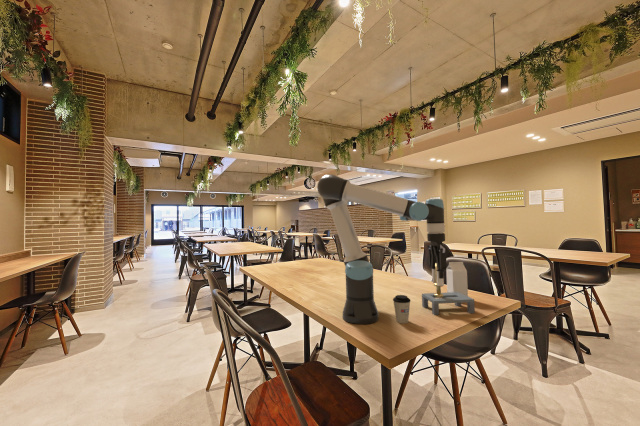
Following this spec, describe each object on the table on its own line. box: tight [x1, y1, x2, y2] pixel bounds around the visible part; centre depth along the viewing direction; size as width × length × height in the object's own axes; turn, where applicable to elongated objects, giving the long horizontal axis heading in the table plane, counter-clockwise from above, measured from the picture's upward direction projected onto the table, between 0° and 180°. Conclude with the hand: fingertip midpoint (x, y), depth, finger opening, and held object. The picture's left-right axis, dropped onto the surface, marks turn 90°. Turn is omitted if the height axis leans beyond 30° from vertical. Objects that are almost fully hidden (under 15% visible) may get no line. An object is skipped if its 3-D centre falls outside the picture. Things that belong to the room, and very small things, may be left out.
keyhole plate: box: [421, 292, 476, 316], centre depth 123 cm, size 18×12×6 cm, turn 94°
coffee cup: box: [392, 294, 412, 324], centre depth 111 cm, size 7×7×10 cm
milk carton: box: [445, 261, 469, 297], centre depth 138 cm, size 7×7×19 cm
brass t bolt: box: [433, 263, 443, 298], centre depth 123 cm, size 4×4×15 cm
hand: (438, 284), depth 123 cm, fingers closed on brass t bolt, 4 cm apart
